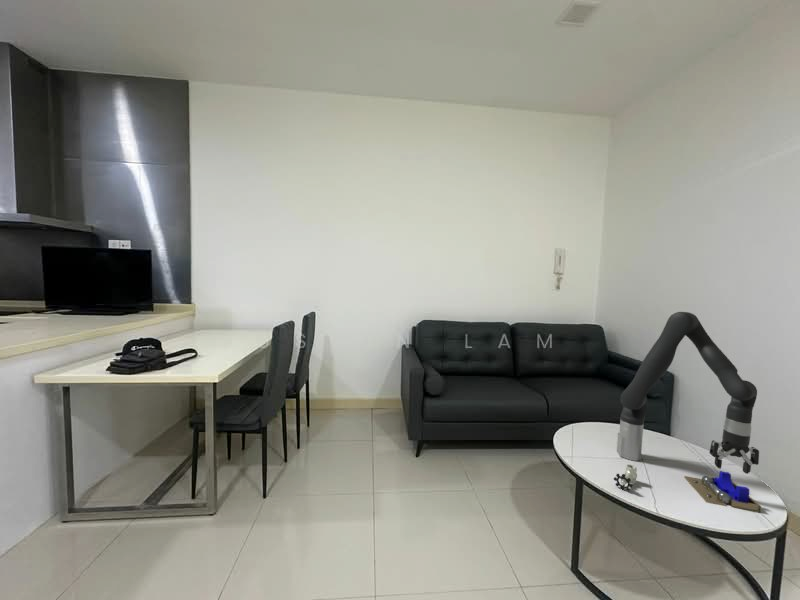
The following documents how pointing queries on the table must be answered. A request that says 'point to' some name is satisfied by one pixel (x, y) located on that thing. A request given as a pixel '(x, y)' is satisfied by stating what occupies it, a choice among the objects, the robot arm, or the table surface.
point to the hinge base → (719, 494)
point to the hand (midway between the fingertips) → (731, 470)
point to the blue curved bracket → (731, 487)
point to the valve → (627, 477)
